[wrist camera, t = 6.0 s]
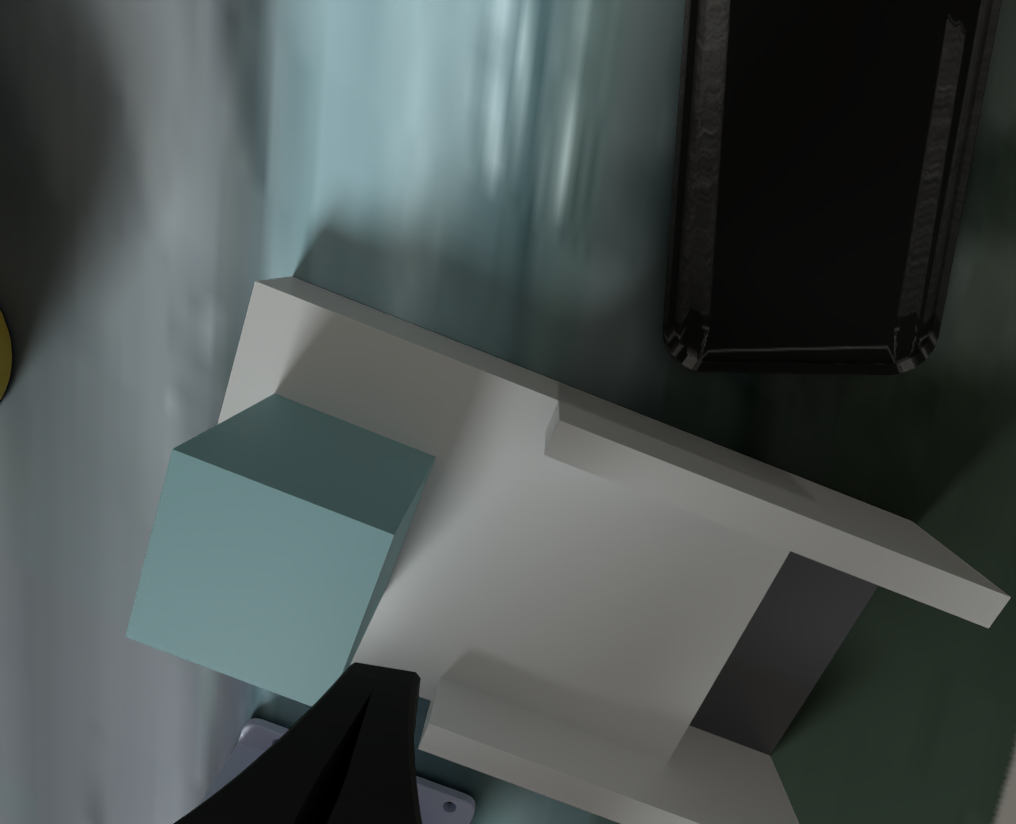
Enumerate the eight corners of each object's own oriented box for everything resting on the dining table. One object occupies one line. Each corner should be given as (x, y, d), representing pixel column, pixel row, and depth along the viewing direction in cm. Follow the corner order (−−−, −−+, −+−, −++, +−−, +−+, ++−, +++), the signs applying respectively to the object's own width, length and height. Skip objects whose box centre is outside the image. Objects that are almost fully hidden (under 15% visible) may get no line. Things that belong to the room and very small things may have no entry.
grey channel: (211, 565, 22) (129, 642, 18) (291, 276, 19) (217, 285, 15) (754, 768, 23) (801, 890, 19) (912, 521, 20) (1010, 596, 16)
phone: (664, 371, 19) (708, -247, 15) (657, 364, 20) (697, -214, 16) (935, 375, 18) (1057, -262, 14) (913, 367, 19) (1021, -227, 15)
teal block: (232, 537, 19) (125, 637, 14) (274, 393, 18) (172, 449, 13) (382, 595, 19) (327, 712, 15) (436, 456, 18) (393, 535, 13)
